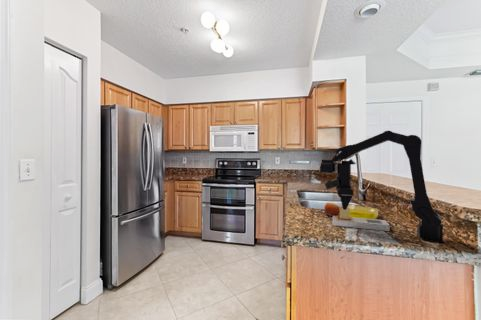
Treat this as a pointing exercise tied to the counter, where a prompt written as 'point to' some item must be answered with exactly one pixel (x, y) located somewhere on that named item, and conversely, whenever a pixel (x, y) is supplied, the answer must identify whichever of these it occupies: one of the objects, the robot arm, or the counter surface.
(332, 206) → the fruit
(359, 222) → the rail bar
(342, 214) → the brass peg
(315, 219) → the counter surface
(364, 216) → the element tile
